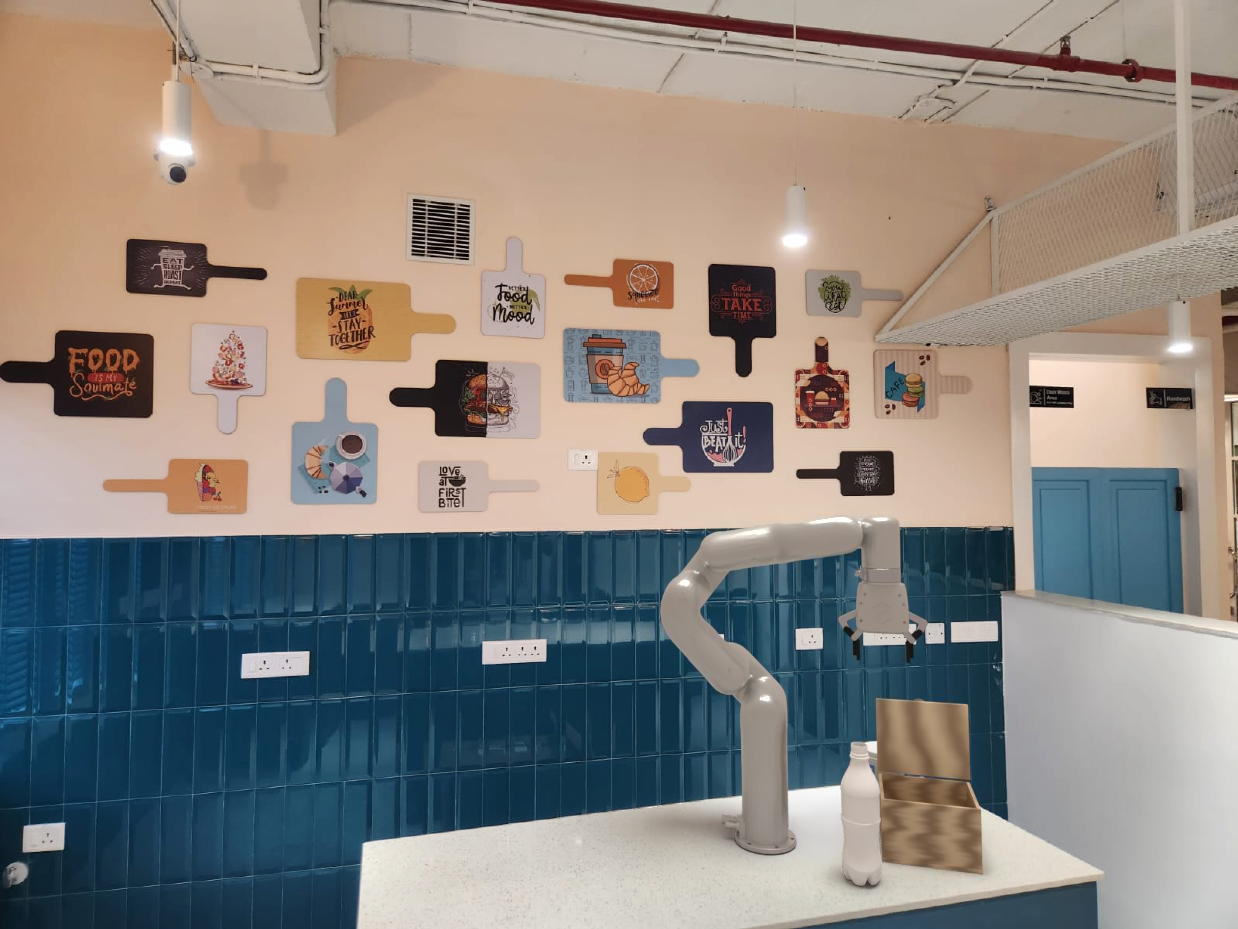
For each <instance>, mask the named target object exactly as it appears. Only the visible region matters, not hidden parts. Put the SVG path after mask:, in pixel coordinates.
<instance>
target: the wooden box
mask: <svg viewBox="0 0 1238 929" xmlns="http://www.w3.org/2000/svg"><path fill="white" fill-rule="evenodd" d="M879 788H880V794H879V796H880V818H881V821H880V826H879V837H880V838H879V839H880V846H881V848H880V849H881V859H882V862H883V863H889V862H890V863H891V864H897V863H900V864H899V865H906V866H913V867H923V868H930V869H937V870H944V869H946V870H945V871H953V872H961V873H969V874H976V873H977V875H983V873H984V871H983V865H984V864H983V836H982V835H983V833H982V828H983V827H982V809H981V806H980V805H979V801H978V799H977V797H976V795H975V792H974V790H973V788H972V784H971V783H970V781H967V780H957V779H956V780H955V779H954V780H953V779H945V778H944V779H941V778H932V777H923V776H912V775H904V776H903V775H893V774H883V773H879Z"/></svg>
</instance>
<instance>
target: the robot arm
mask: <svg viewBox="0 0 1238 929" xmlns="http://www.w3.org/2000/svg"><path fill="white" fill-rule="evenodd" d="M900 530H901V528H900V522H899V520H898V518H897V517H894V516H889V515H888V516H885V515H884V516H883V515H878V516H877V515H876V516H875V515H873V516H866V517H865V516H864V517H861V516H860V517H859V516H851V515H842V514H838V515H834V516H832V517H830V518H825V519H818V520H811V521H806V522H798V523H797V522H796V523H779V522H778V523H767V524H762V525H757V526H755V525H754V526H751V527H744V528H737V529H731V530H726V531H725V530H724V531H714V532H712V533H710V534H708V535H706V536H705V537H704V538H703V539H702V541H701V543H700V546H699V549H698V550H697V551H696V553H694V555H693V556H692V558H691V559H690V561H688V563H687V564H686V566H684V568H683V569H682V570H681V571H680V572H679V574H678V575H676V576H675V577H673V579H672V580H671V581H670V582H669V583H668V584H667V586H666V588H665V589H664V592H663V595H662V597H661V598H662V599H661V601H660V612H659V613H660V620H661V624H662V626H663V629H664V631H665V633H666V635H667V636H668V638H669V639H670V640H671V642H672V643H673V644H674V645H675V646H676V647H677V648H678V649H679V650H680V652H682V653H683V655H684V656H685V657H686V658H687V660H688V661H689V662H690V663H691V664H692V665H693V666H694V668H696V670H697V671H698V672H699V673H700V674H701V675H702V677H703V678H704V679H706V681H707V682H708V683H709V684H710V685H711V686H712V688H713V689H715V691H716V692H719V693H720V694H724V695H727V696H731V695H732V696H733V697H734V698H735V699H736V701H738V703H740V710H739V712H740V713H739V716H740V717H739V722H740V723H739V725H740V744H741V745H740V749H741V750H740V752H741V753H740V754H741V760H740V761H741V762H740V763H741V799H742V800H741V814H737V815H736V816H734V815H730V814H721V825H725V829H728V830H735V832H734V834H735V835H734V839H735V842H736V844H737V845H739V846H740V847H741V848H743V849H745V850H747V851H749V852H752V853H757V854H763V855H778V854H783V853H788V852H790V851H792V850H793V849H794V848H796V846H797V835H796V834H795V833H794V832H793V831H792V830H791V829H790V828H789V774H788V772H789V770H788V769H789V767H788V703H787V695H786V693H785V692H786V691H784V688H783V687H782V685H781V684H780V682H778V681H777V680H776V679H775V678H774V677H773V676H772V675H771V673H770V672H769V671H768V670H767V669H766V668H765V667H764V666H763V665H762V664H761V663H760V662H759V661H758V660H757V659H756V657H755V656H753V655H752V654H751V652H750V651H748V649H746V647H744V646H742V645H741V644H739V643H737V642H732V641H731V642H730V641H726V640H725V639H724V638H723V637H722V636H721V635H720V634H719V632H717V630H716V629H715V628H714V627H713V626H712V625H711V624H710V623H708V622H707V621H706V620H705V619H704V617H703V615H702V613H701V609H702V607H703V606H704V605H705V603H706V602H707V601H708V600H709V598H710V597H711V595H712V594H713V593H714V591H715V590H716V589H717V588H718V587H719V585H720V584H721V583H722V582H723V580H724V578H725V577H727V575H728V574H729V573H730V571H737V570H738V571H739V570H744V569H749V568H756V567H764V566H769V565H777V564H778V565H779V564H787V563H792V562H796V561H797V562H798V561H804V560H806V561H807V560H813V559H819V558H821V559H822V558H826V557H827V558H828V557H835V556H840V555H845V554H851V553H853V552H856V551H857V549H858V550H859V549H861V550H860V551H861V568H860V569H858V570H857V569H855V570H854V577H855V578H856V577H857V578H860V579H861V581H859V582H858V586H857V590H856V603H855V609H854V610H851V611H848V612H846V613H845V614H842V615H841V616H839V617H838V619H837V620H838V622H839V624H840V627H841V628H842V630H843V632H844V633H845V634H846V635H847V636H848V637H849V639H851V640H852V656H856V657H855V658H856V661H861V642H860V641H861V640H860V639H859V638H860V637H861V636H862V634H863V633H867V634H884V635H903V637H904V638H905V640H906V641H905V642H904V643H905V644H904V645H905V647H904V648H905V662H906V663H907V664H911V659H913V660H914V659H915V658H914V657H915V656H914V655H915V654H914V653H915V652H914V643H915V642H916V641H917V640H919V638H921V637H922V635H923V633H924V632H925V630H926V628H927V626H928V623H929V622H928V621H927V620H926V619H924V618H922V617H920V616H918V615H917V614H914V613H912V612H911V611H909V601H908V593H907V588H906V584H905V583H903V582H901V580H902V578H901V577H902V576H901V574H902V573H901V570H902V569H901V532H900ZM854 618H855V622H856V624H855V625H856V628H855V629H854V630H853V629H852V628H851V627H850V626H849V624H848V621H849V620H852V619H854ZM910 620H911V621H912V622H915V623H916V624H918V626H917V628H916V629H915V630H914V631H913V632H911V631H909V629H910Z"/></svg>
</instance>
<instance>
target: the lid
mask: <svg viewBox="0 0 1238 929" xmlns="http://www.w3.org/2000/svg"><path fill="white" fill-rule="evenodd" d="M875 720H876V723H875V724H876V725H875V726H876V741H877V771H881V772H891V773H902V774H904V775H905V774H906V775H911V776H912V775H915V776H922V777H923V776H926V777H937V778H944V779H945V778H946V779H954V780H955V779H956V780H964V781H971V763H970V762H971V758H970V757H971V756H970V731H969V730H970V728H969V727H970V726H969V705H968V704H966V703H965V704H964V703H951V702H939V701H938V702H935V701H925V700H924V699H923V698H922V699H921V698H915V699H913V700H908V699H893V698H892V699H891V698H877V697H876V698H875Z"/></svg>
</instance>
